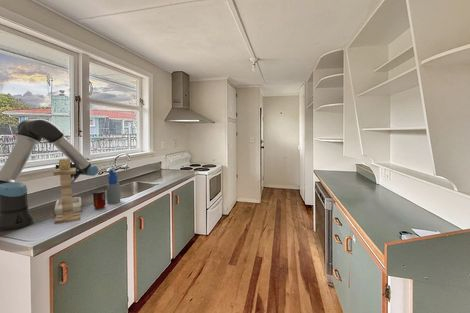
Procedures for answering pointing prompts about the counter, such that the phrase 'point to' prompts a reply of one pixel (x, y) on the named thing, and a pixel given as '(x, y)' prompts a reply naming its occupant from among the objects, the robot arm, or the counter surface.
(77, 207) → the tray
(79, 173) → the robot arm
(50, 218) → the counter surface
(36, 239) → the counter surface
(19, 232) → the counter surface
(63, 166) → the wooden block
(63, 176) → the stand
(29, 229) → the counter surface
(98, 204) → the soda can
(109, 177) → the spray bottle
